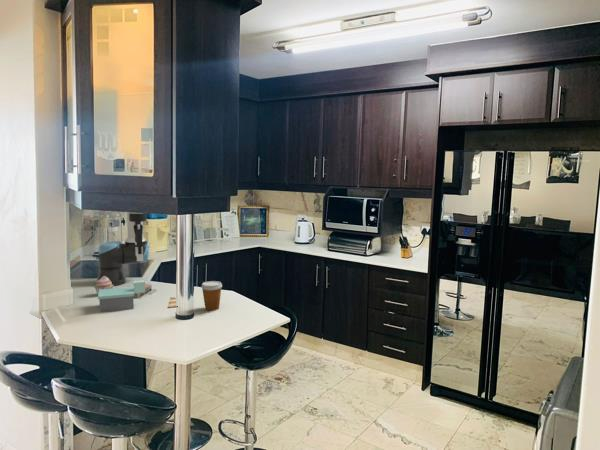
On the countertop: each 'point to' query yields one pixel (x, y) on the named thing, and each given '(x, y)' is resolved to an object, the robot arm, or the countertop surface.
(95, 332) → the countertop surface
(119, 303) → the tub
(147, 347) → the countertop surface
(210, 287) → the disposable coffee cup
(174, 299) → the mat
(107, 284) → the cupcake
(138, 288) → the lid
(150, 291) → the packaged product
